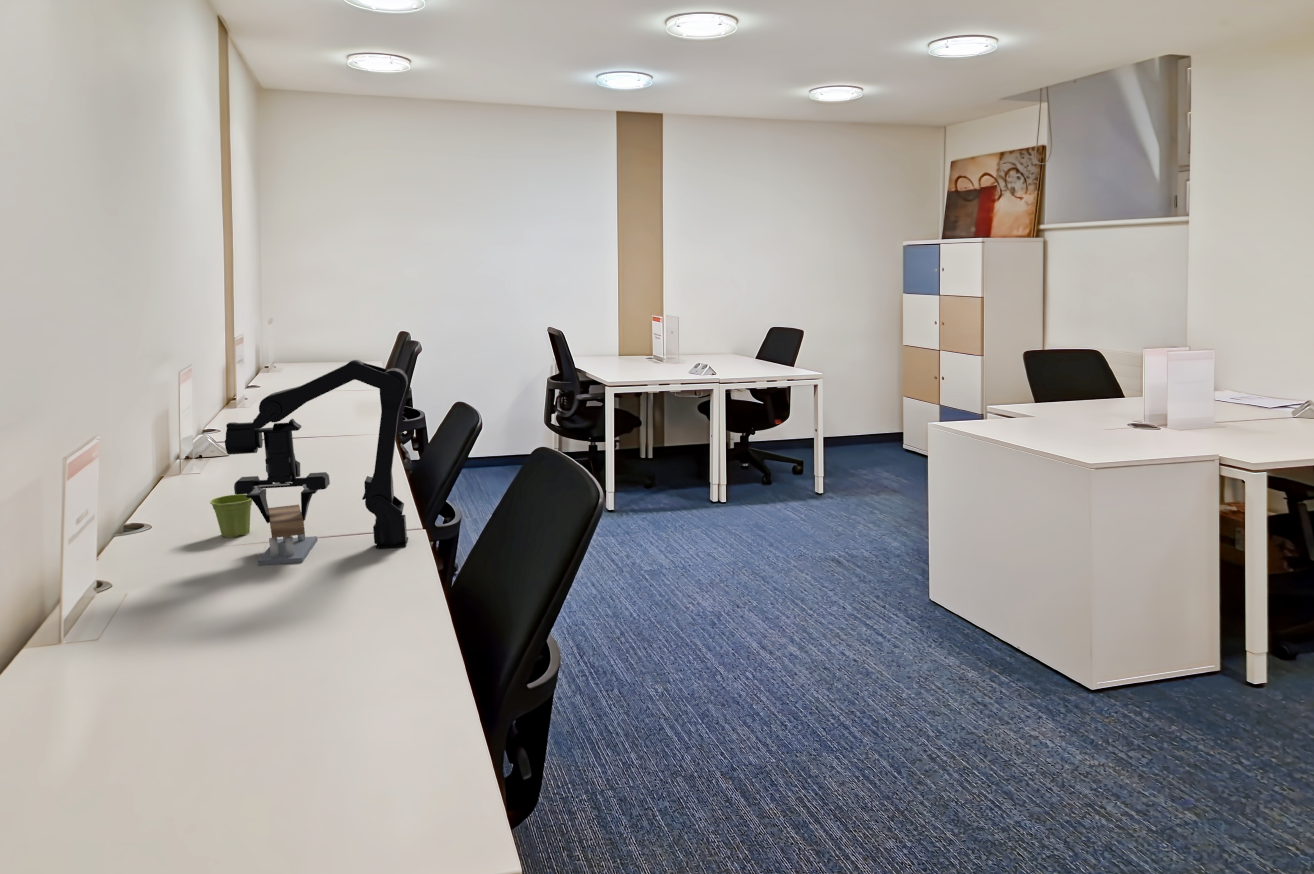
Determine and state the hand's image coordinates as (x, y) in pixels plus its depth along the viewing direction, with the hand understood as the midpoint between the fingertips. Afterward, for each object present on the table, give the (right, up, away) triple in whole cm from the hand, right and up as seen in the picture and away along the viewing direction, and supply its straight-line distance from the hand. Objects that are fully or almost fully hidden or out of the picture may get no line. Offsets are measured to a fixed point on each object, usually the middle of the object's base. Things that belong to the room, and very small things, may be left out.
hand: (286, 521), depth 207 cm
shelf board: (0, -1, 0) cm, 1 cm away
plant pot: (-19, -5, +17) cm, 26 cm away
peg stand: (0, -7, +1) cm, 7 cm away
